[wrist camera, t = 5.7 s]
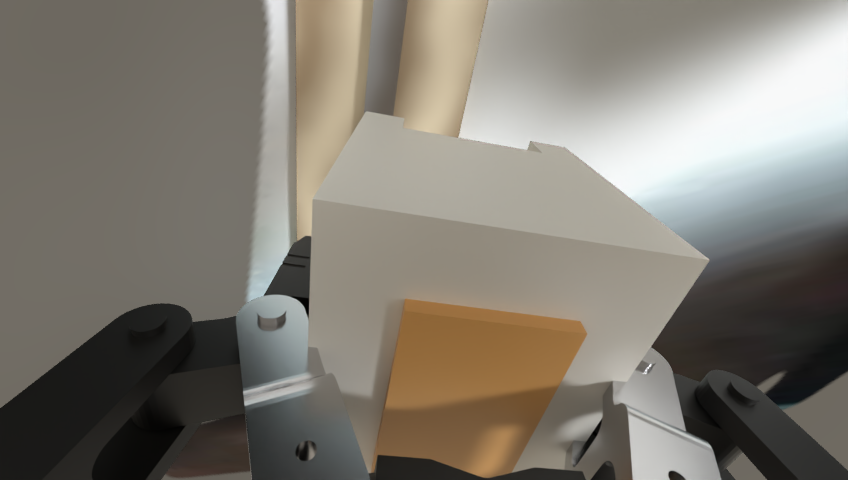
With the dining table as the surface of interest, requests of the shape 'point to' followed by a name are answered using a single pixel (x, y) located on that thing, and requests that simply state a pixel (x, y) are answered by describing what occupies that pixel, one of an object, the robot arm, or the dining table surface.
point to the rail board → (377, 74)
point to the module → (482, 295)
